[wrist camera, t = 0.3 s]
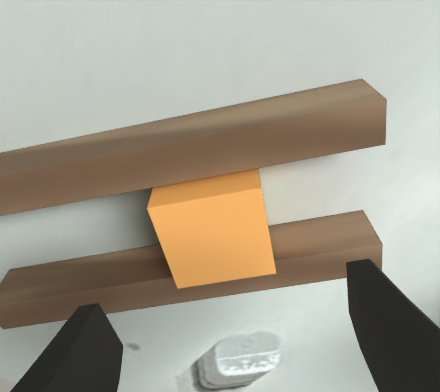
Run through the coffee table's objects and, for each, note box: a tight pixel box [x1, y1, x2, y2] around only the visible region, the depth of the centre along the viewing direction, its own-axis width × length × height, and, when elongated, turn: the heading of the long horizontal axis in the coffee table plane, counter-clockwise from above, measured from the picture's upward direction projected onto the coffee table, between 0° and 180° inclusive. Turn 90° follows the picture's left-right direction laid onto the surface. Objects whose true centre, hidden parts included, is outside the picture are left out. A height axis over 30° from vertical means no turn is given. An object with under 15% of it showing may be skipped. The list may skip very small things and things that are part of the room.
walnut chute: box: [0, 79, 387, 329], centre depth 20 cm, size 10×22×3 cm, turn 102°
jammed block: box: [147, 168, 276, 288], centre depth 19 cm, size 5×5×4 cm
